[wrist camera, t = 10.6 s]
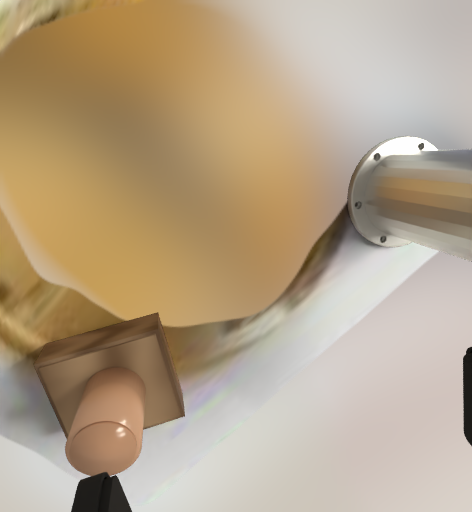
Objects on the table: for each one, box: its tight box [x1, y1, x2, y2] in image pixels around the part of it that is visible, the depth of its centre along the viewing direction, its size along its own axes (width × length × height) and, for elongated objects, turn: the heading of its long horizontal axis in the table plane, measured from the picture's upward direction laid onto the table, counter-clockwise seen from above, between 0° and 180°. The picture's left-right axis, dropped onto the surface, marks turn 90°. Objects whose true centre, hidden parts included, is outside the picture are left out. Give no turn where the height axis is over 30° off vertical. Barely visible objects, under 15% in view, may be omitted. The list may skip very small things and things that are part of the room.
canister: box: [65, 367, 146, 476], centre depth 32 cm, size 6×6×7 cm
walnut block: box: [34, 313, 185, 439], centre depth 38 cm, size 12×11×4 cm
